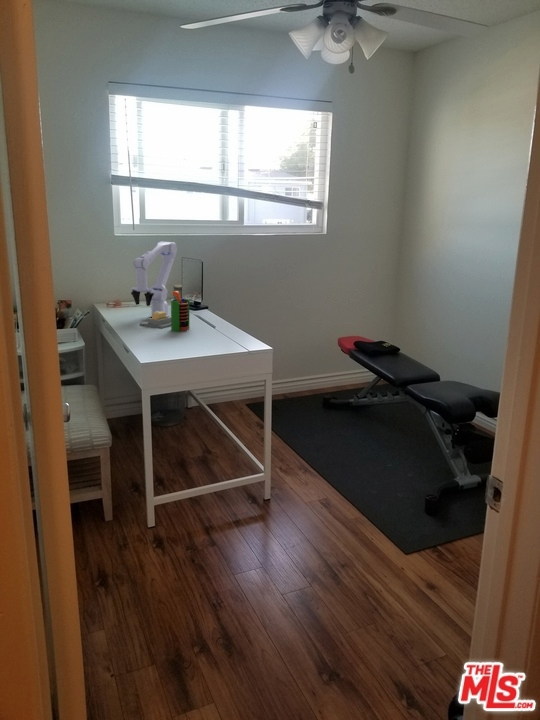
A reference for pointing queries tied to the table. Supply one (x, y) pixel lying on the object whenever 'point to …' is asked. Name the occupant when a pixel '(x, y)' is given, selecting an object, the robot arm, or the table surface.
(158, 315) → the yellow block
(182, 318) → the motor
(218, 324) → the table surface
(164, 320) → the chassis plate
